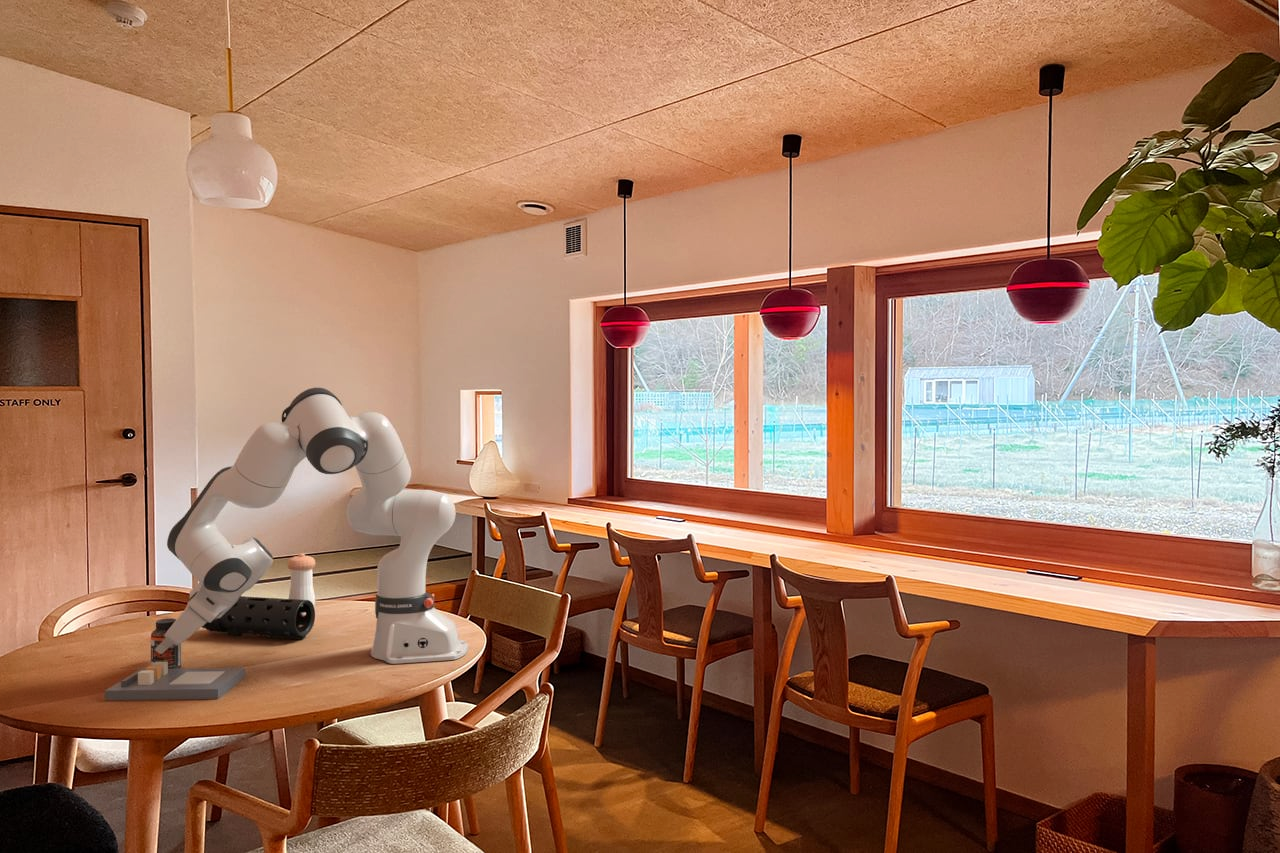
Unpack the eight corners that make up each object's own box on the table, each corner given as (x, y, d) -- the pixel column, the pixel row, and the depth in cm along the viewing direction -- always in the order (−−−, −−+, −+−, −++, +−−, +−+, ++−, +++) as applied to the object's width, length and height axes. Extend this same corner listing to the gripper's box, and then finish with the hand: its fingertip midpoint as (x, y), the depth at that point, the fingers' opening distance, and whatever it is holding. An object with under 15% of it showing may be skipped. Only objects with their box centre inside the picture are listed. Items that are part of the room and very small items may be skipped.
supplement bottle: (150, 676, 191) (149, 624, 191) (151, 669, 197) (150, 618, 196) (181, 672, 194) (180, 621, 194) (181, 665, 199) (180, 615, 199)
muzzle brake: (294, 645, 216) (294, 603, 216) (194, 638, 222) (193, 597, 222) (316, 635, 226) (316, 595, 225) (219, 629, 231) (219, 589, 231)
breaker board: (245, 676, 191) (244, 656, 191) (217, 698, 178) (217, 676, 177) (140, 678, 190) (140, 657, 190) (105, 700, 176) (104, 678, 176)
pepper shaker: (314, 627, 233) (314, 555, 232) (285, 629, 231) (284, 556, 230) (318, 620, 240) (317, 550, 239) (289, 622, 238) (289, 551, 237)
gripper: (207, 580, 207) (161, 625, 204) (191, 599, 187) (139, 649, 185) (228, 598, 208) (183, 642, 206) (214, 619, 189) (163, 668, 186)
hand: (162, 646), depth 195 cm, fingers open, 7 cm apart
